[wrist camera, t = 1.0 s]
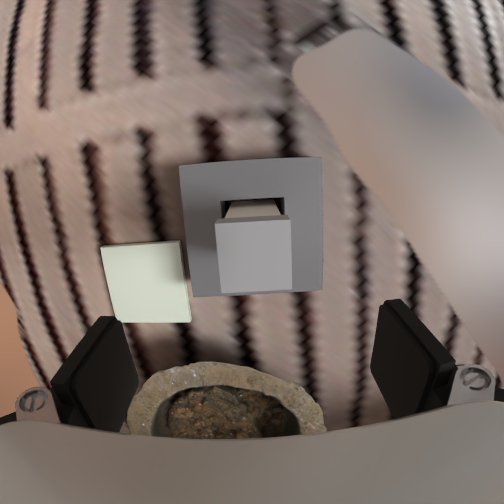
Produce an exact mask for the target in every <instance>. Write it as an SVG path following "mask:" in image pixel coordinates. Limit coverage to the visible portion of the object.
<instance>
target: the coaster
mask: <svg viewBox="0 0 504 504" xmlns="http://www.w3.org/2000/svg"><path fill="white" fill-rule="evenodd" d="M100 249H101V255H102V260H103V265H104V270H105V274H106V279H107V284H108V288H109V292H110V297H111V301H112V305H113V309H114V313H115V316H116V318H117V320H120V321H121V322H147V323H162V322H191V319H192V317H191V311H190V304H189V298H188V291H187V284H186V277H185V270H184V263H183V255H182V247H181V240H177V241H162V242H148V243H134V244H120V245H107V246H102V247H101V248H100Z"/></svg>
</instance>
